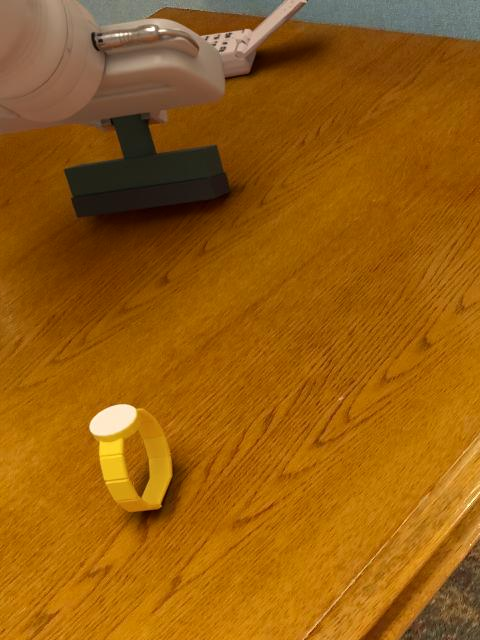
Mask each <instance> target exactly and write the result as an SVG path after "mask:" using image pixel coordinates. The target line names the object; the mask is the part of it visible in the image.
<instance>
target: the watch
mask: <svg viewBox="0 0 480 640" xmlns="http://www.w3.org/2000/svg"><path fill="white" fill-rule="evenodd" d="M88 427H89V431H90V434H91V435H92V437H93V438H94V440H95V441H96V442H98V443H99V444H98V457H99V464H100V469H101V473H102V477H103V481H104V483H105V486H106V489H108V491H109V493H110V496H111V497H112V499H113V501H115V503H116V504H118V505H119V506H120V507H121V508H123V509H124V511H125V512H129V513H134V512H144V511H154V510H159V509H160V508H162V506H163V505H162V502H163V500H164V499H165V495H166V493H167V490H168V488H169V486H170V483H171V480H172V478H173V462H172V461H173V460H172V456H171V455H172V453H171V450H170V446H169V443H168V439H167V436H166V434H165V431H164V430H163V428H162V426H161V425H160V423H159V421H158V420H157V418H156V417H155V416H154V415H153V414H151V413H150V412H149V411H147V410H145V409H144V408H142V407H139V408H136V407H134V406H133V405H131V404H126V403H124V404H123V403H122V404H115V405H111V406H109V407H107V408H104V409H102V410H101V411H99V412H98V413H97V414H96V415H95V416H94V417H93V418H91V421H90V423H89V426H88ZM137 432H138V433H139V435H140V436H141V438H142V441H143V445H144V447H145V451H146V455H147V457H148V472H149V473H148V475H149V478H148V482H147V484H146V486H145V489H144V491H143V493H142V495H141V496H139V494H138V492H137V491H136V488H135V487H134V484H133V483H132V481H131V479H130V476H129V471H128V467H127V461H126V457H125V440H127V439H129V438H130V437H132V436H133V435H134V434H135V433H137Z"/></svg>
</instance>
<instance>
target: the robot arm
mask: <svg viewBox="0 0 480 640" xmlns="http://www.w3.org/2000/svg"><path fill="white" fill-rule="evenodd" d="M201 36H202V35H199V34H198V33H196V32H195V31H193V30H191V29H190V28H188V27H187V26H185V25H183V24H181V23H179V22H177V21H174V20H172V19H166V18H145V19H144V18H143V19H138V20H131V21H127V22H126V21H125V22H120V23H112V24H108V25H107V24H106V25H102V26H101V25H100V26H99V24H98V23H97V21H96V20H95V18H94V16H93V15H92V14H91V13H90V12H89V11H88V10H87V8H86V7H85V6H84V5H82V4H81V3H80V2H79V1H77V0H0V136H2V135H8V134H9V135H10V134H14V133H15V134H16V133H20V132H21V133H22V132H28V131H35V130H41V129H48V128H49V129H50V128H53V127H55V128H56V127H61V126H67V125H80V126H85V127H86V126H87V127H95V128H96V129H98V130H100V131H102V132H103V133H106V132H113V131H115V127H114V124H113V121H112V118H115V117H121V116H128V115H135V114H140V115H141V120H143V121H145V122H148V125H149V126H151V125H160V124H166V123H168V121H169V119H168V110H175V109H181V108H187V107H193V106H194V107H195V106H201V105H207V104H214V103H218V102H220V101H221V100H222V99H223V97H224V95H225V94H226V78H225V76H224V68H223V63H222V58H221V55H220V53H219V51H218V50H217V49H216V48H215V47H214V46H213V45H211V44H210V43H209V42H208V41H206V40H205V39H203V38H202V37H201Z"/></svg>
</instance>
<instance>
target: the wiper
mask: <svg viewBox="0 0 480 640" xmlns="http://www.w3.org/2000/svg"><path fill="white" fill-rule="evenodd" d="M112 121H113V124H114V127H115V130H114V131H115V134H116V136H117V137H116V138H117V141H118V143H119V146H120V150H121V153H122V156H123V157H121V158H114V159H108V160H101V161H94V162H87V163H81V164H77V165H73V166H70V167H67V168H63V172H64V175H65V178H66V181H67V185H68V187H69V190H70V193H71V196H72V197H70V201H71V203H72V207H73V211H74V212H75V216H76V218H77V219H80V218H85V217H95V216H101V215H108V214H116V213H122V212H130V211H131V212H132V211H136V210H144V209H152V208H158V207H159V208H160V207H166V206H173V205H174V206H175V205H180V204H181V205H182V204H187V203H188V204H189V203H194V202H195V203H196V202H203V201H209V200H215V199H217V198H219V197H221V196H224V195H226V194H229V193H230V192H231V187H230V182H229V179H228V175H227V172H226V171H225V170H224V167H223V163H222V158H221V155H220V151H219V148H218V145H217V144H211V145H204V146H198V147H197V146H196V147H189V148H183V149H176V150H175V149H174V150H169V151H162V152H157V149H156V146H155V143H154V139H153V135H152V132H151V129H150V125H149V124H148V122H145V121H143V120H141V115H140V114H135V115H128V116H121V117H115V118H112Z"/></svg>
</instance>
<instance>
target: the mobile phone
mask: <svg viewBox="0 0 480 640" xmlns="http://www.w3.org/2000/svg"><path fill="white" fill-rule="evenodd" d="M308 2H309V0H284V1H283V2H281V4H279V6H277V8H275V10H273V11H272V12H271V13H270V14H269V15H268V16H267V17H266V18H265V19H264V20H263V21H262V22H261V23H260V24H259V25H258V26H256V28H254V30H252V29H250V28H245V29H244V30H243V29H241V30H233V31H227V32H219V33H211V34H206V35H200V36H201V37H202V38H203V39H205V40H206V41H208V42H209V43H210V44H211V45H213V46H214V47H215V48H216V49H217V50H218V51H219V53H220V55H221V58H222V63H223V68H224V76H225V79H226V78H231V77H236V76H237V77H238V76H242V75H248V74H249V73H251V69H252V66H253V64H254V61H255V57H256V55H257V49H258V48H259V47H260V46H261V45H262V44H263V43H265V42H266V40H268V39H269V38H270V37H271V36H272V35H273V34H274V33H276V32H277V31H278V30H279V29H280V28H281V27H283V26H284V25H285V24H286V23H287V22H288V21H289V20H290V19H291V18H293V17H294V16H295V15H296V14H297V13H299V11H301V9H303V7H305V6H306V4H307V3H308Z"/></svg>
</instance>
